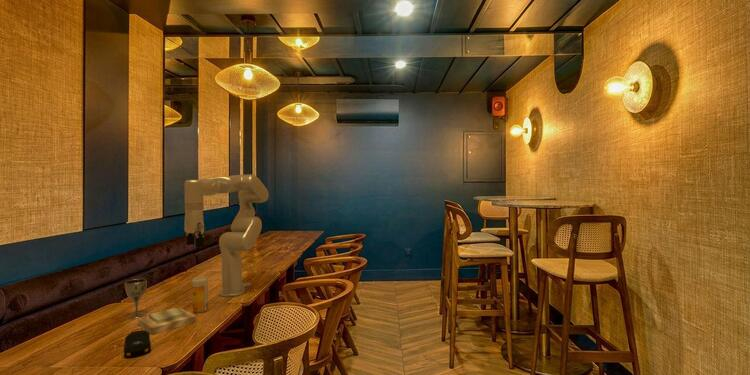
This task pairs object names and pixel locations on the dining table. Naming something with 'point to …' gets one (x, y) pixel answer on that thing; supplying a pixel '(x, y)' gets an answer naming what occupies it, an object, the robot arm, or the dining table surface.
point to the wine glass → (136, 294)
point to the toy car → (137, 343)
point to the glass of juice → (200, 294)
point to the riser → (166, 320)
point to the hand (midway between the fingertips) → (195, 245)
